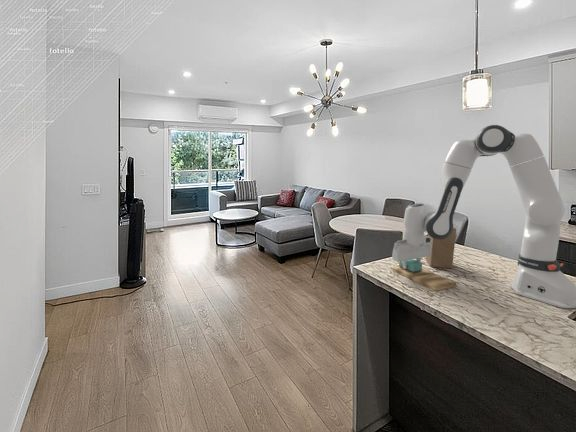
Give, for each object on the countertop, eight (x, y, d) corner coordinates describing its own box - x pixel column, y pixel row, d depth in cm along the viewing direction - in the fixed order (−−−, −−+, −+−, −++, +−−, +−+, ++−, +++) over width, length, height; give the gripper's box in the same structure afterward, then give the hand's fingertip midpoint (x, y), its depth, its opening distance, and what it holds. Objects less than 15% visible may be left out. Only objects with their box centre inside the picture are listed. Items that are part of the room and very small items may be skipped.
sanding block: (421, 271, 143) (422, 262, 142) (413, 272, 141) (413, 264, 140) (407, 265, 151) (407, 257, 150) (399, 266, 149) (399, 258, 148)
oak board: (456, 286, 130) (456, 282, 130) (434, 290, 126) (435, 287, 125) (411, 267, 153) (412, 264, 153) (392, 270, 149) (392, 267, 148)
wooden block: (452, 268, 151) (456, 228, 148) (430, 267, 153) (433, 227, 150) (446, 262, 161) (450, 224, 157) (425, 260, 163) (428, 223, 159)
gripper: (399, 242, 136) (397, 272, 139) (434, 238, 144) (432, 266, 146) (390, 239, 142) (388, 268, 144) (424, 235, 150) (421, 262, 152)
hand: (410, 267), depth 145 cm, fingers closed on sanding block, 5 cm apart
